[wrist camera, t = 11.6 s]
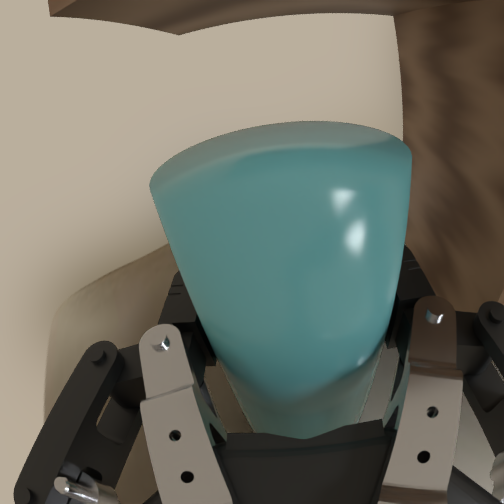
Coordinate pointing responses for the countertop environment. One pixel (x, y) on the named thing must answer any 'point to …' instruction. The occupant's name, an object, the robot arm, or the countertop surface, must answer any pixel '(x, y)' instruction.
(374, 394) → the countertop surface
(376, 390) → the countertop surface
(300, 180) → the teal rounded cylinder
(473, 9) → the shelf
